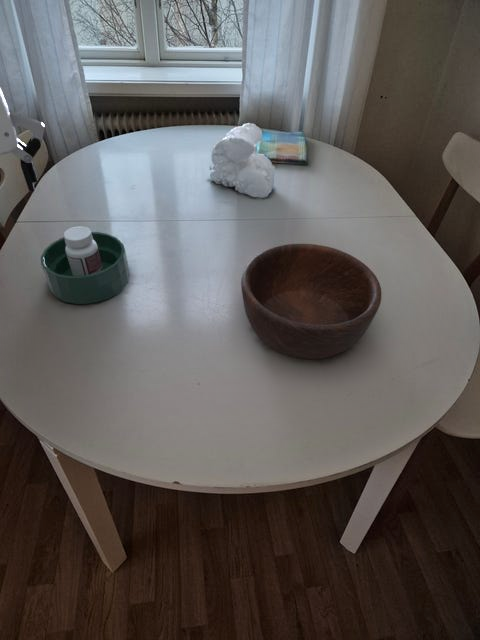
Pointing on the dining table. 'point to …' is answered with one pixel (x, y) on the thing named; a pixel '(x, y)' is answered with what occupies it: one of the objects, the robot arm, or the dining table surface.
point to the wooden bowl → (309, 299)
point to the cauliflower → (242, 162)
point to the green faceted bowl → (87, 285)
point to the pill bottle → (82, 251)
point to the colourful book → (284, 147)
